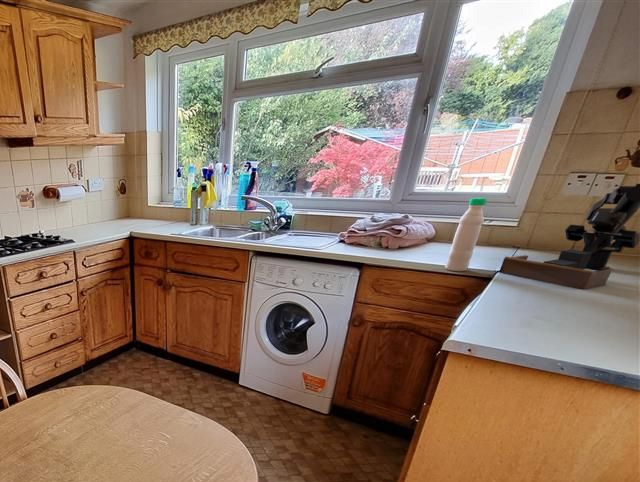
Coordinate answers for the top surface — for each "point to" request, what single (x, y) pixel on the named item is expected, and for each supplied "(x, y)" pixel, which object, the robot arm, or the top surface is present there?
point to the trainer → (572, 259)
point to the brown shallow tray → (554, 273)
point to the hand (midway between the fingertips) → (582, 255)
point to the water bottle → (466, 236)
